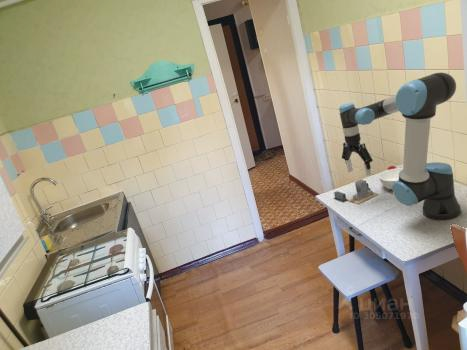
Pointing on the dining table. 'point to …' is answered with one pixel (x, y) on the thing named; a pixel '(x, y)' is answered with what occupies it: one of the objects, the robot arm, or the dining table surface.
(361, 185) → the bent metal sheet
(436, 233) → the dining table surface
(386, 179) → the bowl
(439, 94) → the robot arm
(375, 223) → the dining table surface
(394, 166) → the bracket
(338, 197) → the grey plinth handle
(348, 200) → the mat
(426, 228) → the dining table surface
